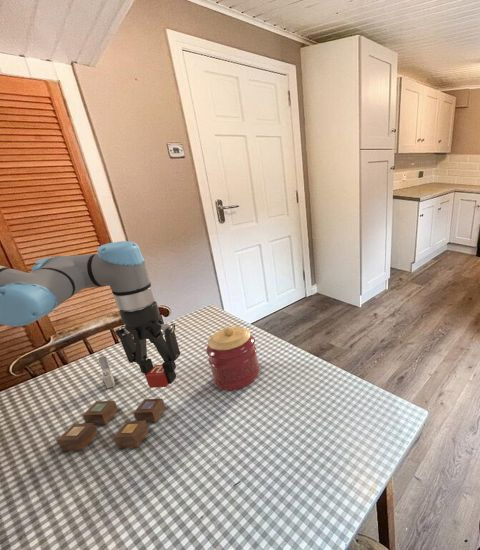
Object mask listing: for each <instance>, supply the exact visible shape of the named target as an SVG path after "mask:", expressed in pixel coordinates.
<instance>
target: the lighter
mask: <svg viewBox="0 0 480 550" xmlns="http://www.w3.org/2000/svg"><path fill="white" fill-rule="evenodd" d="M97 360H98V362H99V365H100V369H101V372H102V379H103V382H104V384H105V387H106V389H110V388H114V387H115V385H116V384H115V378H114V375H113V373H112V371H111V366H110V362H109V360H108V357H107V355H102V356H98V359H97Z"/></svg>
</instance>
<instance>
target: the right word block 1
mask: <svg viewBox="0 0 480 550" xmlns="http://www.w3.org/2000/svg"><path fill="white" fill-rule="evenodd" d="M149 432H150V428H149V425H148V423H146V420H145V421H136V420H128V421H125V422H124V424H123V425H122V426H121V427H120V428H119V429H118V431H117V432H116V433H115V434H114V436H113V437H112V438H113V441H114V443H115V446H116V448H117V449H133V448H134V449H135V448H139V447H140V445H141V444H142V443H143V441H144V440H145V438H146V437H147V436H148V434H149Z"/></svg>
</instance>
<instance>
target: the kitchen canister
mask: <svg viewBox="0 0 480 550" xmlns="http://www.w3.org/2000/svg"><path fill="white" fill-rule="evenodd" d="M255 343H256V340H255V337H254V335H253V334H251V331H250V329H248V328H245V327H241V326H229V325H228V326H226V327H224V328H221V329H219V330H218V331H216V332H215V333H214V334H212V335H211V336H210V337H209V338H208V341H207V347H206V350H205V352H206V355H207V356H208V364H209V366H210V370H211V374H212V381H213V383H214V385H215V387H216V388H218V389H219V390H222V391H226V392H227V391H228V392H229V391H231V392H232V391H237V390H241V389H244V388H246V387H247V386H250V384H252V383H253V382H255V381H256V379H258V377H259V374H260V364H259V361H258V354H257V347H256V345H255Z"/></svg>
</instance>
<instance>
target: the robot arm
mask: <svg viewBox="0 0 480 550" xmlns="http://www.w3.org/2000/svg"><path fill="white" fill-rule="evenodd" d="M106 286H108V287H109V288H110V290H111V293H112V295H113V299H114V301H115V305H116V308H117V309H118V310H119V311H118V313H119V315H120V318H121V321H122V323H123V324H124V325H121V326H120V327H119V328H117V329H116V330H115V331H114V334H115V335H116V336H117V337H118V339H119V341H120V343H121V345H122V348H123V351H124V353H125V356H126V358H127V361H128V363H130V364H133V363H135V364H136V365H138V367H139V369H140V372H141V373H142V374H144V376H145V378H146V375H147V374H148V372H149V371H150V370H151V369H152V368H153V367H154V364H153V361H152V358H149V355H148V350H147V349H148V348H147V340H148V341H149V342H150V343H151V344H153V346H154V348H155V349H156V350H157V352H158V354H159V356H160V357H161V358H162V361H163V362H162V364H161V365H162V366H163V369H164V372H165V375H166V378H167V381H168V384H169V385H171V384H172V383H173V382H174V381H175V380H176V378H177V375H176V372H175V370H176V369H177V365H176V362H175V361H176V360H178V359H179V357H180V356H181V351H180V346H179V343H178V340H177V336H176V335H177V334H176V332H175V331H176V324H175V323H170V324H166V323H164V322H163V320H162V319H161V318H160V317H161V316H160V315H161V314H160V313H161V312H160V309H159V306H158V303H157V301H156V297H155V293H154V290H153V287H152V282H151V281H150V277H149V272H148V269H147V266H146V262H145V258H144V256H143V254H142V251H141V249H140V246H139V244H137V242H135V241H130V240H121V241H115V242H108V243H105V244H101V245H100V246H98V248H97V253H94V254H93V253H92V254H91V253H90V254H77V255H76V254H75V255H55V256H52V257H44V258H40V259H38V260H36V261H35V262H34V265H33V266H32V267H31V271H30V272H26V271H22V270H20V269H19V270H18V269H14V268H10V267H7V266H3V265H0V325H2V326H7V327H24V326H27V325H31V324H32V323H35V322H36V321H39V320H40V319H42V318H44V317H46V316H48V315H50V314H51V313H52V312H53V311H54V310H55V309H56V308H57V307H59V306H60V305H61V304H63V303H65V301H67V300H69V299H71V298H72V297H74V296H75V295H76V294H78V293H79V292H81V291H82V290H85V289H92V288H99V287H100V288H101V287H106Z"/></svg>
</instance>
